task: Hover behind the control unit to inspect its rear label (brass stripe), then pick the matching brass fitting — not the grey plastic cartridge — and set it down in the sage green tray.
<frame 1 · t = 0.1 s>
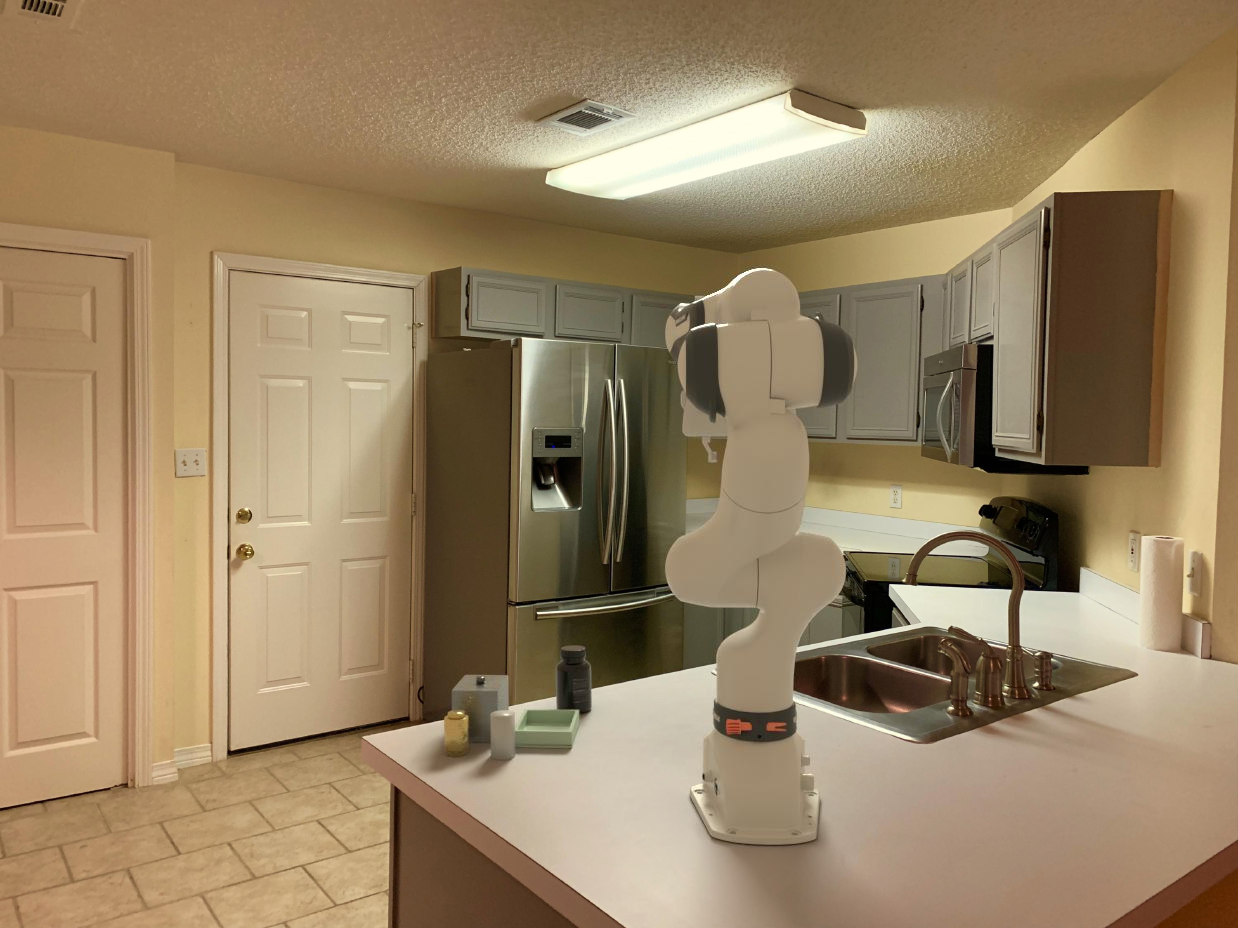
hand: (739, 462, 160), 48 cm above the worktop, fingers open, 8 cm apart
brass fitting: (456, 752, 151), on the worktop
supplement bottle: (573, 710, 174), on the worktop
control unit: (481, 732, 160), on the worktop
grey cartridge: (503, 755, 149), on the worktop
tray: (547, 735, 159), on the worktop
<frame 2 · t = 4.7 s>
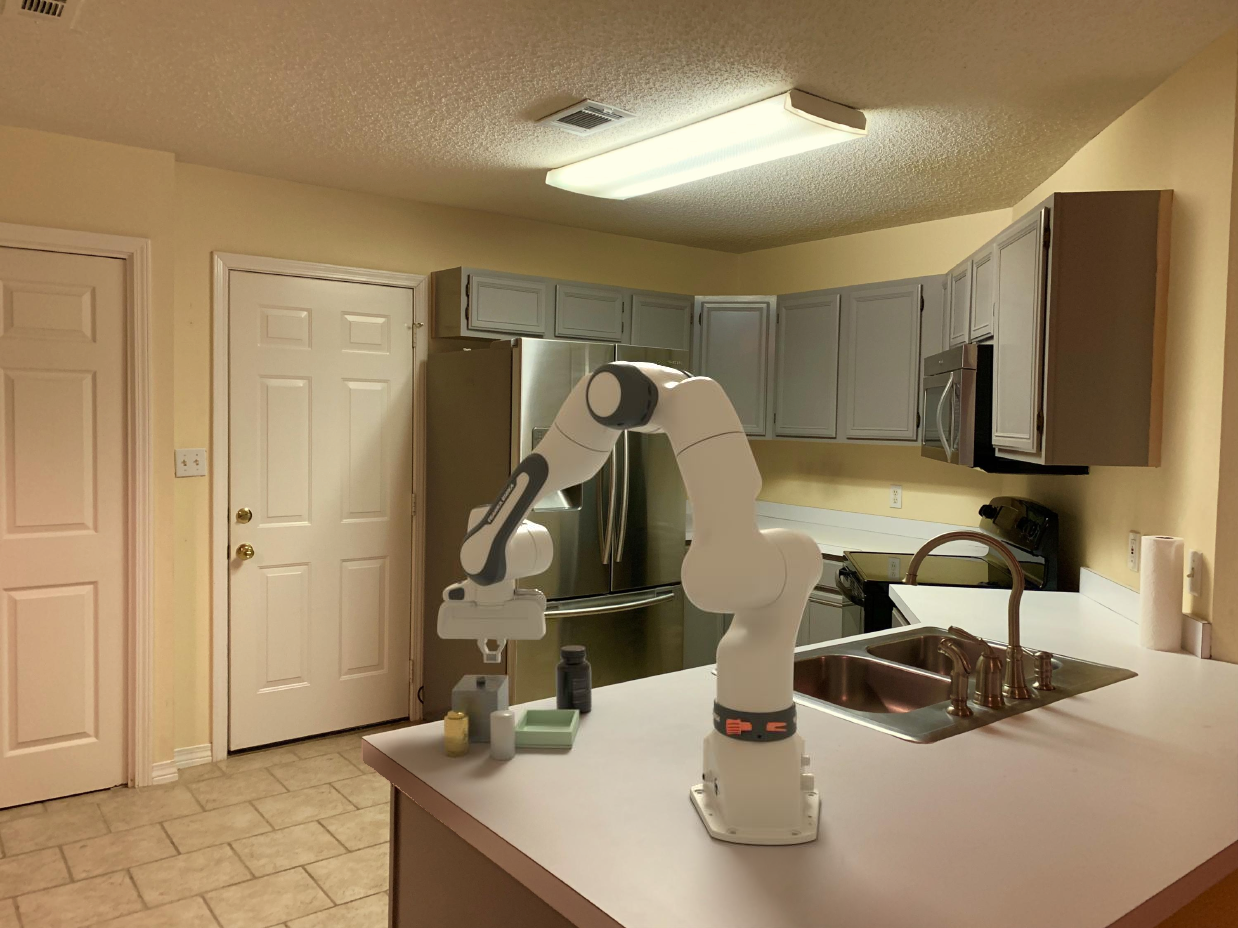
hand: (492, 661, 170), 10 cm above the worktop, fingers closed
nothing on the worktop moved.
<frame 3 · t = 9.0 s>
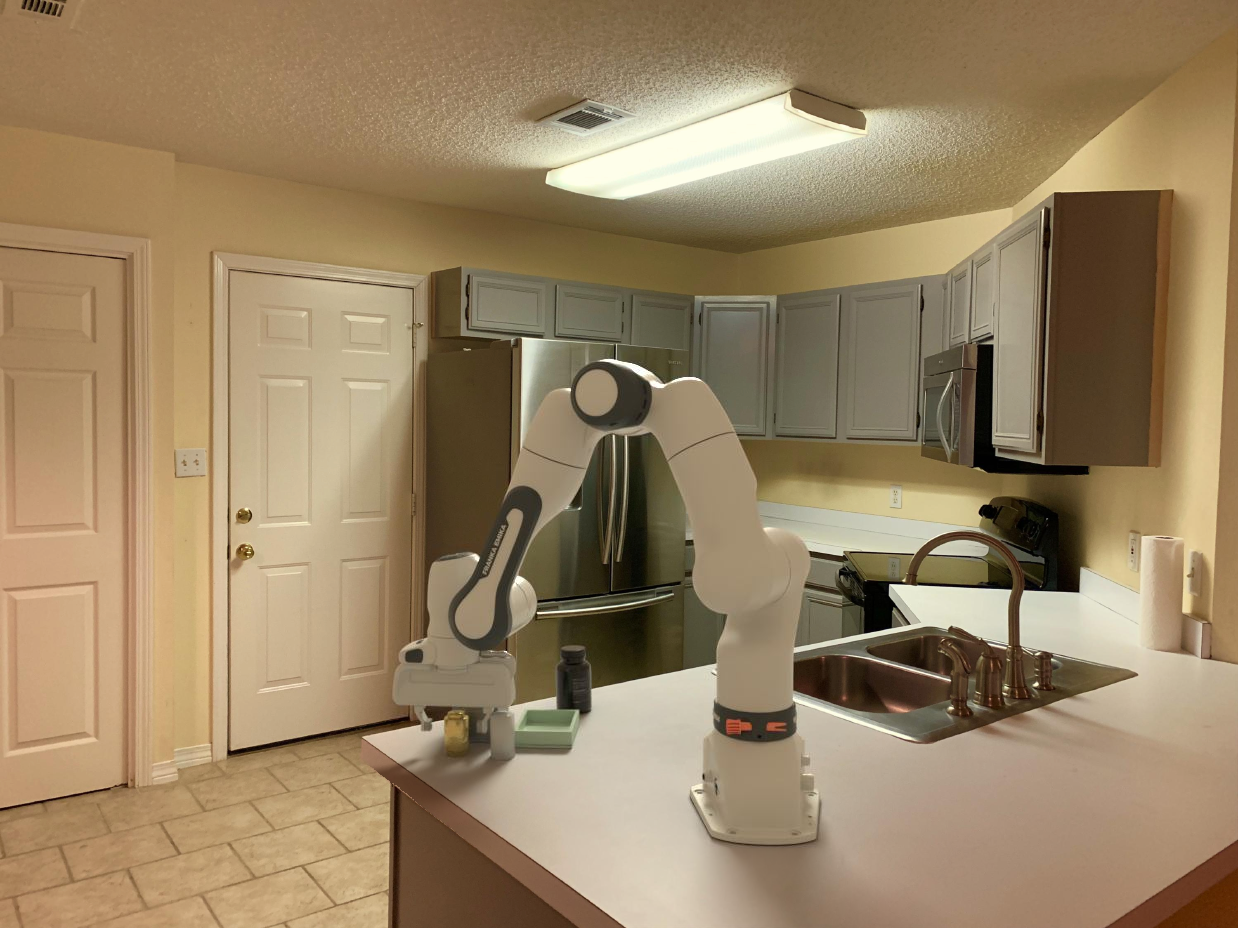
hand: (454, 731, 151), 3 cm above the worktop, fingers open, 8 cm apart
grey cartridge: (503, 756, 149), on the worktop, touching gripper
everything else where it was.
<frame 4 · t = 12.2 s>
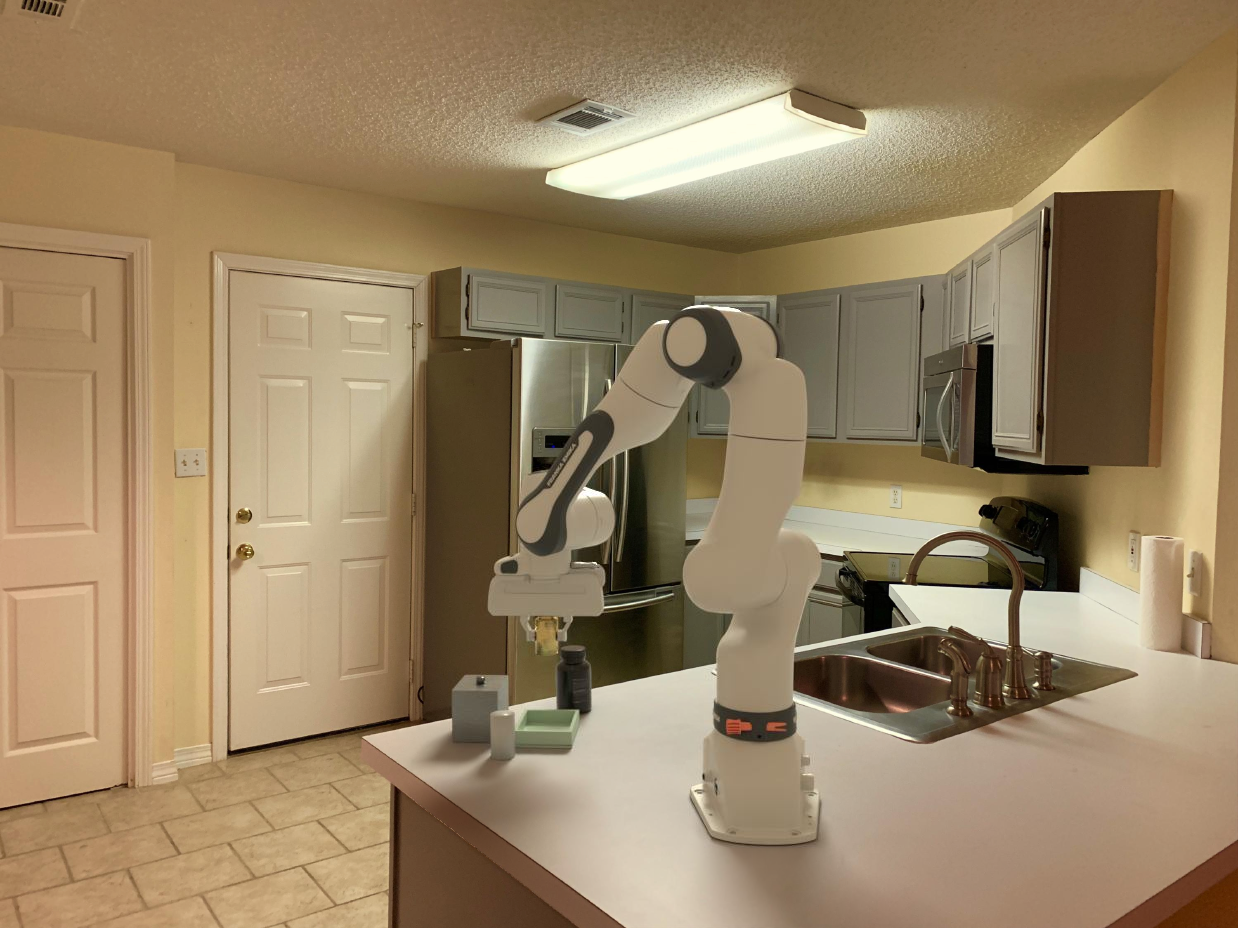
hand: (546, 640, 158), 17 cm above the worktop, fingers closed on brass fitting, 4 cm apart
brass fitting: (546, 652, 158), point 15 cm above the worktop, touching gripper
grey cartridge: (503, 755, 149), on the worktop
everything else where it was.
when the fingers open (4 cm above the worktop, at t = 14.9 s): brass fitting drops 1 cm, resting on tray.
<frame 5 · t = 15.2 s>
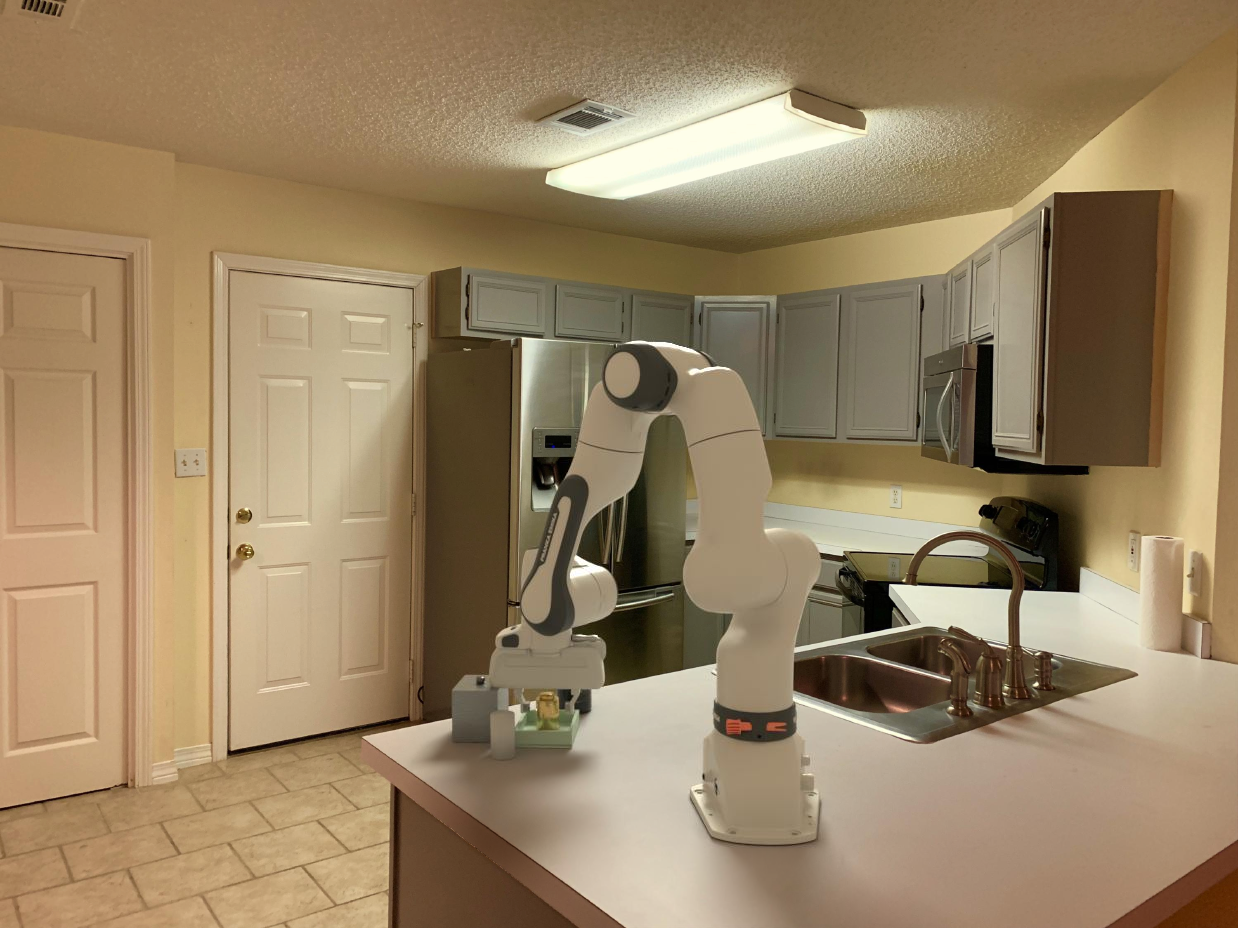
hand: (547, 712, 159), 4 cm above the worktop, fingers open, 6 cm apart
brass fitting: (547, 732, 159), point 1 cm above the worktop, touching tray
everything else where it was.
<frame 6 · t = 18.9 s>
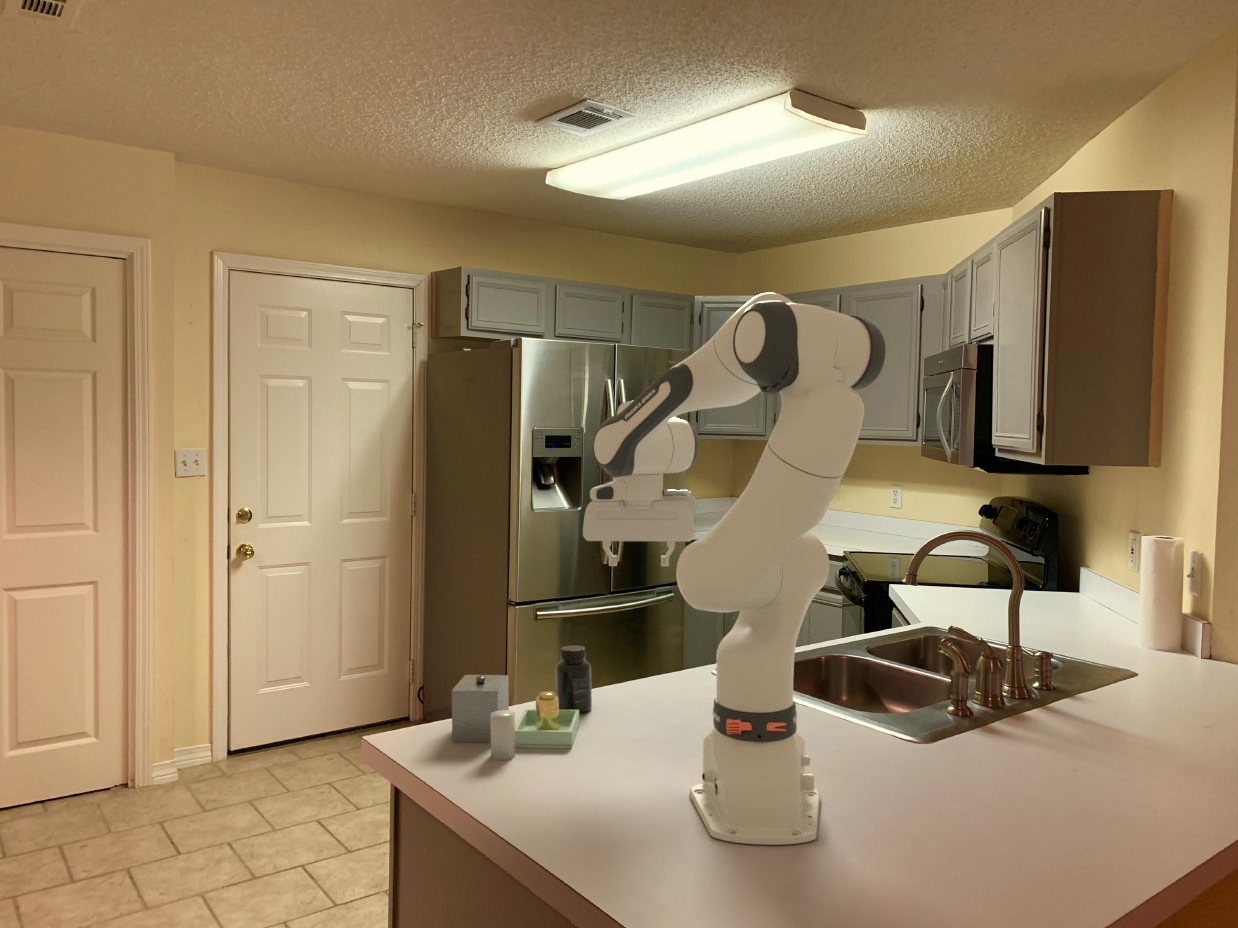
hand: (638, 565, 164), 29 cm above the worktop, fingers open, 8 cm apart
nothing on the worktop moved.
at the end: brass fitting inside the target area on the tray (0.1 cm from its centre), point 0.6 cm above the tray's base; the gripper is holding nothing; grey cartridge moved 0.0 cm from its start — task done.
